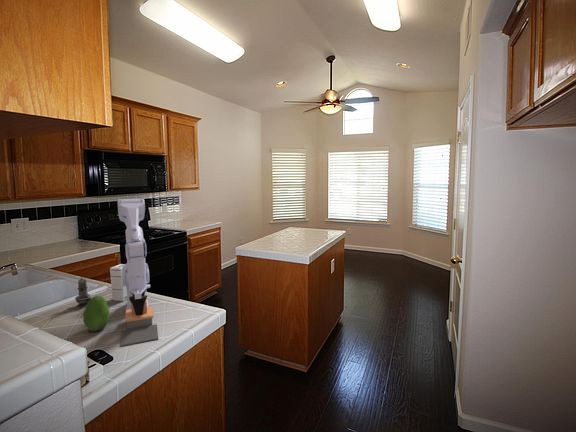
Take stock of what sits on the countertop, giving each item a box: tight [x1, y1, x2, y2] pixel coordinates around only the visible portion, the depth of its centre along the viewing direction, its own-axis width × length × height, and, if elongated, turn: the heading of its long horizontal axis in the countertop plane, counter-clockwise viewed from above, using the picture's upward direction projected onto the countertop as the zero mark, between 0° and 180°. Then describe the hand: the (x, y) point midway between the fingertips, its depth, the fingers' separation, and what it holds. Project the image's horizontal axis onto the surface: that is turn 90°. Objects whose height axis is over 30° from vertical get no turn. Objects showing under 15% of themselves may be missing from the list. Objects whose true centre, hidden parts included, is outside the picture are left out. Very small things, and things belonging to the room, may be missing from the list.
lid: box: [124, 301, 154, 323], centre depth 117 cm, size 9×9×6 cm
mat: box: [120, 323, 159, 347], centre depth 108 cm, size 11×11×1 cm
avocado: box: [82, 295, 110, 332], centre depth 111 cm, size 8×8×12 cm
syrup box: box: [109, 263, 127, 302], centre depth 139 cm, size 6×6×14 cm
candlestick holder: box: [74, 276, 92, 309], centre depth 131 cm, size 6×6×12 cm
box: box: [126, 318, 153, 329], centre depth 117 cm, size 8×8×3 cm
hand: (139, 311), depth 117 cm, fingers open, 6 cm apart
